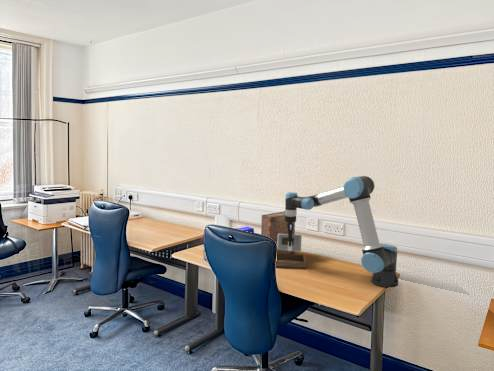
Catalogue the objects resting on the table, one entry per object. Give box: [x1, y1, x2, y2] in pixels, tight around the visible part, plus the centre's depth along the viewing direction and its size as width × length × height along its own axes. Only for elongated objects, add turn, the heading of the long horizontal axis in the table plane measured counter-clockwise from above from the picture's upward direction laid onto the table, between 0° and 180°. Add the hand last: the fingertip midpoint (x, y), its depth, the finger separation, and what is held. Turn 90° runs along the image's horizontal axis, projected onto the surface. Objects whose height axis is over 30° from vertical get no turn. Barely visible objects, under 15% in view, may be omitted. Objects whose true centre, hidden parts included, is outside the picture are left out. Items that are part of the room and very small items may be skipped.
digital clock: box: [277, 234, 303, 253], centre depth 253 cm, size 16×9×11 cm, turn 67°
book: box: [260, 211, 296, 254], centre depth 273 cm, size 25×9×30 cm, turn 131°
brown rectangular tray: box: [275, 253, 307, 270], centre depth 255 cm, size 17×21×4 cm
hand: (289, 249), depth 254 cm, fingers closed on digital clock, 7 cm apart
